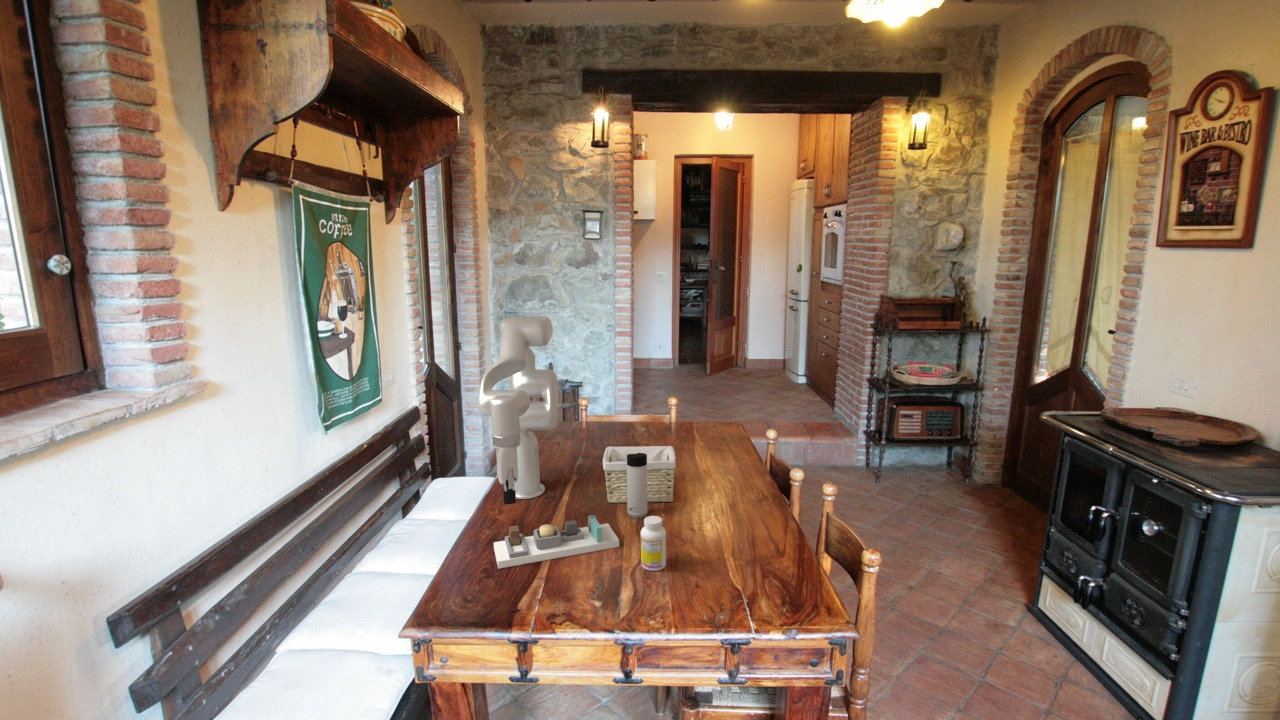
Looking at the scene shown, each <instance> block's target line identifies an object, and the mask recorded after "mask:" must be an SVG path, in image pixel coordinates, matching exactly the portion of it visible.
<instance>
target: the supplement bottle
mask: <svg viewBox="0 0 1280 720" xmlns="http://www.w3.org/2000/svg"><path fill="white" fill-rule="evenodd" d="M662 525H663V518H662V517H660V516H657V515H649V516H648V515H647V516H645V517H644V519H643V527H642V528H641V529H640V564H641V567H642V568H643V569H645V570H647V571H651V572H657V571H660V570H661V571H662V570H663V569H664V568H665V567H666V565H667V530H666V529H665V528H664V526H662Z"/></svg>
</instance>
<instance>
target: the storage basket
mask: <svg viewBox="0 0 1280 720" xmlns="http://www.w3.org/2000/svg"><path fill="white" fill-rule="evenodd" d="M604 450H605V451H604V453H603V457H602V466H603V470H604V475H605V486H606V493H607V494H606V496H607V502H608V503H611V504H621V503H624V504H625V503H626V504H627V455H628V454H637V453H645V454H647V503H659V502H662V503H664V502H665V503H666V502H674V483H675V482H674V479H675V473H676V472H675V469H676V467H677V466H676V459H677V458H676V452H675V448H674V447H673V446H672V445H663V446H662V445H655V446H654V445H652V446H651V445H650V446H645V445H644V446H607V447H606V448H605V449H604Z"/></svg>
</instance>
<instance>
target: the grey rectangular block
mask: <svg viewBox="0 0 1280 720" xmlns="http://www.w3.org/2000/svg"><path fill="white" fill-rule="evenodd" d="M577 528H578V522H577V521H576V519H572V520H568V521H564V530H565V535H566V537H567V536H573V535H578V530H577Z"/></svg>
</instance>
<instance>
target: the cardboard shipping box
mask: <svg viewBox="0 0 1280 720" xmlns="http://www.w3.org/2000/svg"><path fill="white" fill-rule="evenodd" d="M508 531H509V532H508V533H509V535H508V536H509V537H510V543H511V545H516V544H520V535H519V534H520V529H519V525H513V526H509V527H508Z"/></svg>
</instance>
